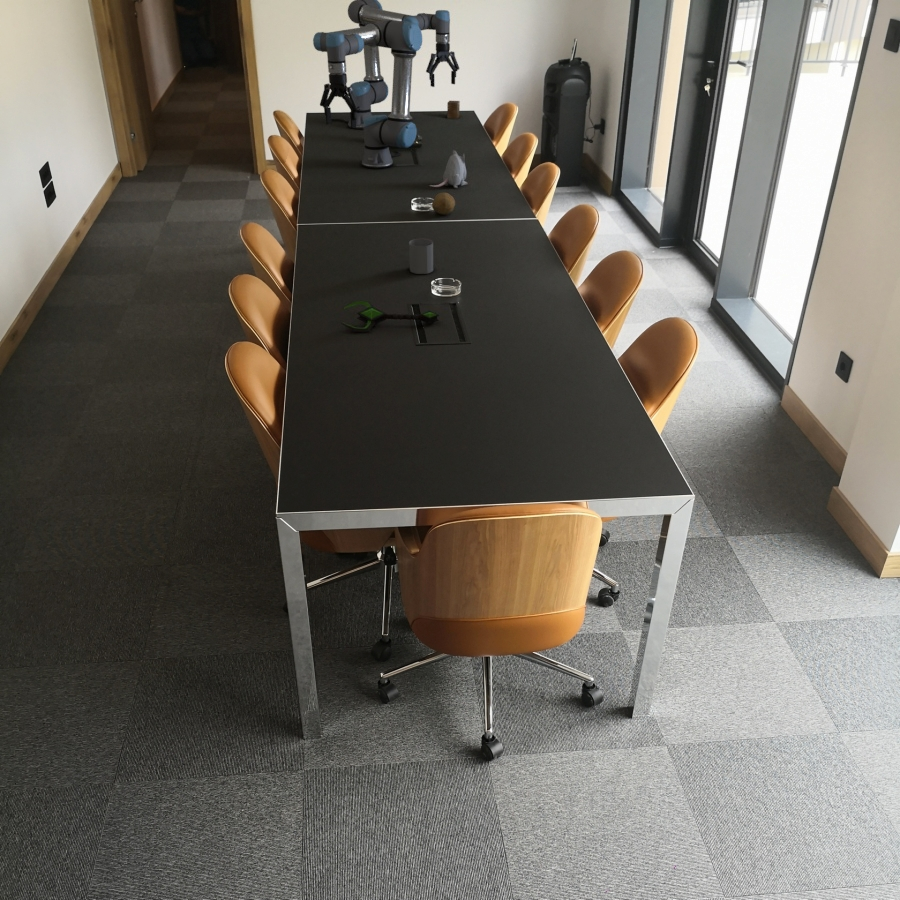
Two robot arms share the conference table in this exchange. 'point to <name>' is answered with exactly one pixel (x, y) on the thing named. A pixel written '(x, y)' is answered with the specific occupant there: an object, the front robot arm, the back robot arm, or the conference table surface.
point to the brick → (453, 109)
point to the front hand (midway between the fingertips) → (341, 125)
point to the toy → (454, 171)
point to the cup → (421, 256)
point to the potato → (443, 203)
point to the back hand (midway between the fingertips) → (442, 85)
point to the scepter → (385, 316)
